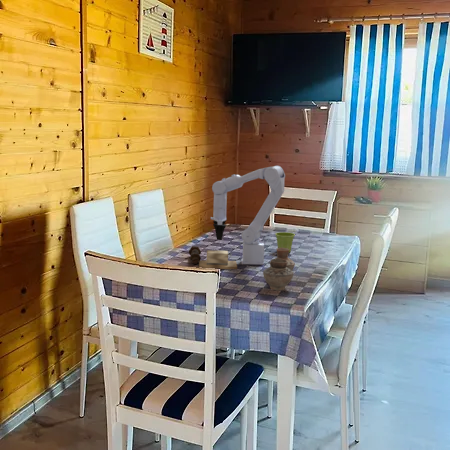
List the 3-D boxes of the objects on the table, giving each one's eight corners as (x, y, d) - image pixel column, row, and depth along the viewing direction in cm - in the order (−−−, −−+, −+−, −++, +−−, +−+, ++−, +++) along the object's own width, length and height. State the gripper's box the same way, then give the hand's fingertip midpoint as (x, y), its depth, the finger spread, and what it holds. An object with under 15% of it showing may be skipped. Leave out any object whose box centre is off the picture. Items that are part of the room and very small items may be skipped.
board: (235, 263, 239) (236, 261, 238) (237, 269, 229) (237, 266, 228) (199, 262, 238) (199, 260, 238) (198, 268, 228) (198, 265, 228)
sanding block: (227, 262, 236) (227, 250, 235) (227, 265, 231) (228, 253, 230) (206, 261, 235) (206, 250, 235) (206, 264, 231) (206, 253, 230)
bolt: (193, 269, 234) (193, 259, 249) (203, 263, 234) (202, 254, 248) (186, 257, 233) (186, 248, 247) (197, 252, 232) (196, 243, 247)
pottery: (296, 276, 221) (297, 247, 219) (291, 294, 197) (293, 262, 195) (268, 274, 223) (269, 245, 221) (260, 291, 199) (261, 259, 197)
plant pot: (293, 254, 258) (294, 236, 257) (273, 253, 260) (274, 235, 259) (294, 250, 267) (295, 232, 266) (275, 248, 269) (276, 231, 268)
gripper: (210, 205, 249) (210, 234, 251) (210, 210, 235) (210, 241, 237) (226, 205, 249) (225, 235, 252) (227, 210, 235) (226, 241, 237)
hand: (219, 238), depth 244 cm, fingers open, 7 cm apart
